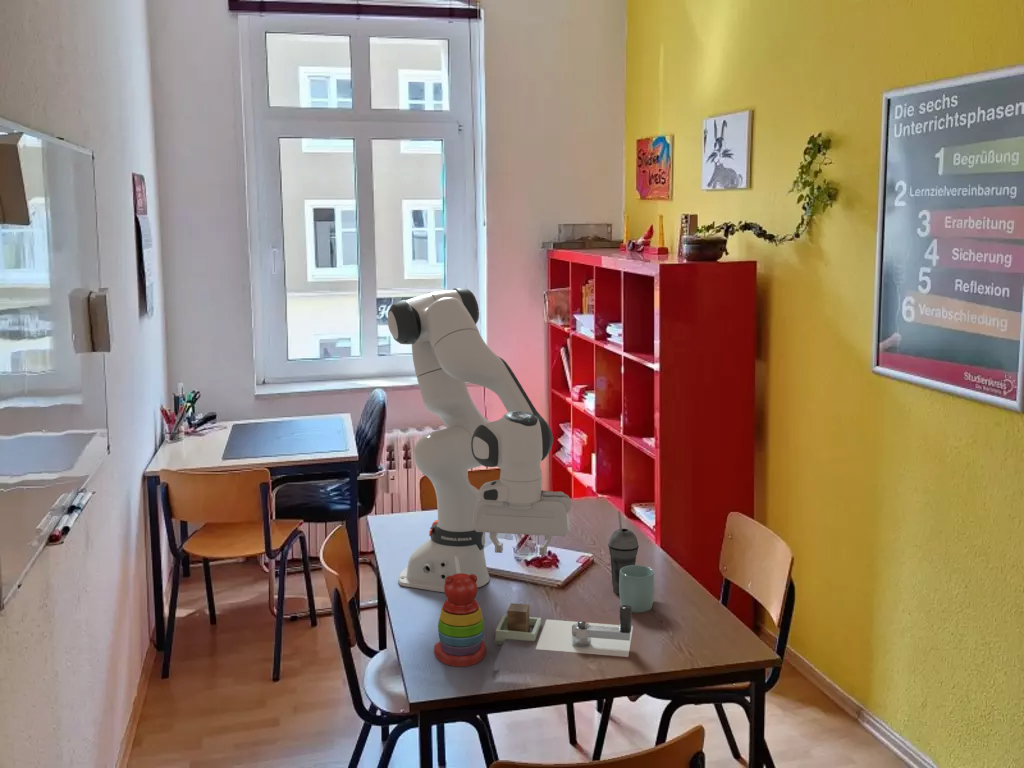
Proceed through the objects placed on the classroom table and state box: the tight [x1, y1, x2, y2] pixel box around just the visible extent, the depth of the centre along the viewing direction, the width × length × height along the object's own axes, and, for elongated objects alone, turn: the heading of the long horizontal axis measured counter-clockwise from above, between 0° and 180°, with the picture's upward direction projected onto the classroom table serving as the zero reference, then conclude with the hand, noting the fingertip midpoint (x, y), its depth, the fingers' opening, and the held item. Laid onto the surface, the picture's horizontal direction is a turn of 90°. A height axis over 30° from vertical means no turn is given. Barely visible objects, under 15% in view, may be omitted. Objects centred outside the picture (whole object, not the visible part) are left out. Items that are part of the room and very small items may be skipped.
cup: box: [618, 564, 656, 613], centre depth 221 cm, size 8×8×10 cm
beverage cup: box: [607, 510, 640, 595], centre depth 232 cm, size 7×7×20 cm
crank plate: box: [535, 619, 634, 658], centre depth 205 cm, size 19×15×2 cm
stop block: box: [507, 602, 530, 632], centre depth 208 cm, size 4×4×6 cm
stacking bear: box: [433, 573, 487, 668], centre depth 198 cm, size 11×10×18 cm
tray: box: [494, 614, 542, 646], centre depth 208 cm, size 8×8×3 cm
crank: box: [572, 605, 633, 647], centre depth 201 cm, size 12×4×8 cm, turn 79°
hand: (520, 553), depth 205 cm, fingers open, 8 cm apart
